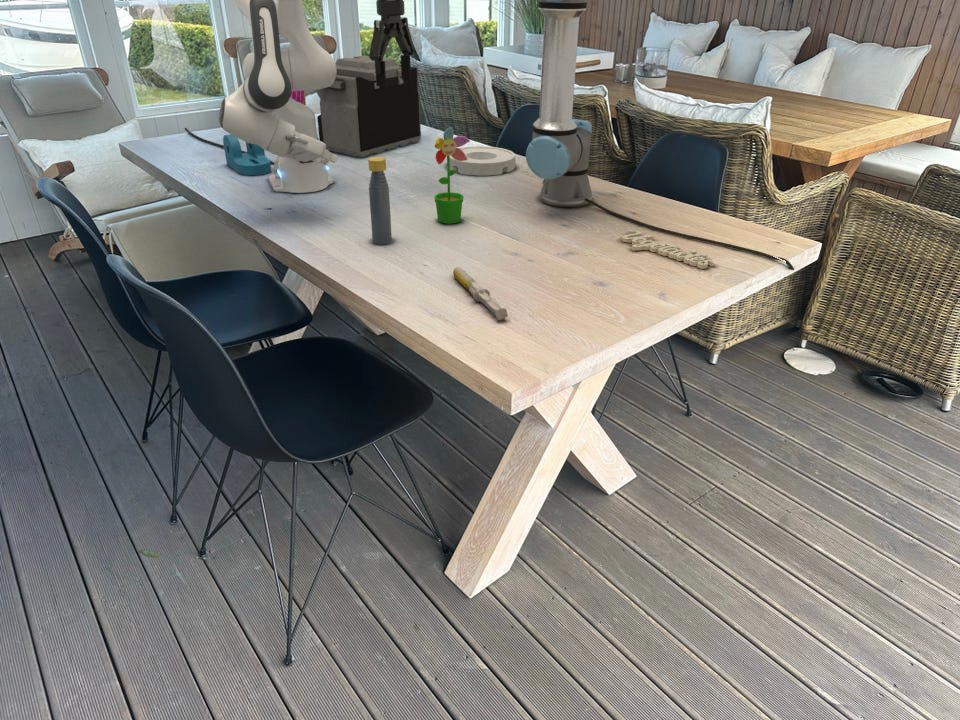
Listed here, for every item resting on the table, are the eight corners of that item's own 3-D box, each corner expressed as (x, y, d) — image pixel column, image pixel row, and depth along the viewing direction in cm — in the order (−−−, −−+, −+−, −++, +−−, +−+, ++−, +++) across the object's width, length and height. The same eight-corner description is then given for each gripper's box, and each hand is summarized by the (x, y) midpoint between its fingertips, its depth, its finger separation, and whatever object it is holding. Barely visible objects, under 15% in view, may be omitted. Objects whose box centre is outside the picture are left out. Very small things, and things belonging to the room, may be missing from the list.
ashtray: (449, 157, 245) (449, 145, 243) (514, 158, 244) (514, 146, 242) (444, 174, 225) (444, 162, 223) (515, 176, 224) (515, 164, 222)
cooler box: (383, 133, 276) (378, 52, 261) (425, 141, 265) (422, 56, 250) (314, 150, 251) (304, 61, 235) (358, 160, 240) (350, 67, 224)
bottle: (393, 238, 174) (389, 158, 164) (389, 245, 170) (384, 163, 160) (375, 237, 175) (370, 157, 165) (370, 244, 171) (364, 162, 161)
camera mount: (227, 164, 233) (221, 132, 227) (257, 160, 238) (252, 129, 233) (244, 176, 220) (239, 143, 215) (276, 172, 225) (271, 139, 220)
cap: (388, 167, 165) (387, 157, 164) (383, 171, 161) (383, 161, 160) (371, 166, 165) (370, 156, 164) (366, 171, 162) (366, 160, 161)
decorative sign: (607, 237, 173) (632, 229, 179) (607, 241, 174) (631, 232, 180) (698, 269, 156) (722, 258, 162) (697, 273, 157) (721, 262, 163)
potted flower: (440, 227, 182) (438, 129, 169) (428, 218, 188) (425, 123, 175) (472, 221, 185) (472, 126, 173) (459, 213, 191) (459, 120, 179)
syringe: (449, 274, 155) (449, 263, 153) (465, 272, 156) (464, 260, 154) (490, 323, 135) (491, 310, 133) (508, 319, 136) (508, 307, 134)
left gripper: (295, 122, 169) (346, 146, 176) (279, 131, 187) (326, 153, 194) (286, 147, 169) (338, 170, 176) (271, 153, 187) (319, 174, 194)
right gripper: (401, -4, 196) (405, 76, 206) (351, 0, 176) (358, 88, 187) (424, -3, 193) (427, 78, 204) (376, 1, 173) (382, 90, 184)
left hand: (332, 161), depth 185 cm, fingers open, 8 cm apart
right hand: (394, 83), depth 195 cm, fingers open, 13 cm apart
